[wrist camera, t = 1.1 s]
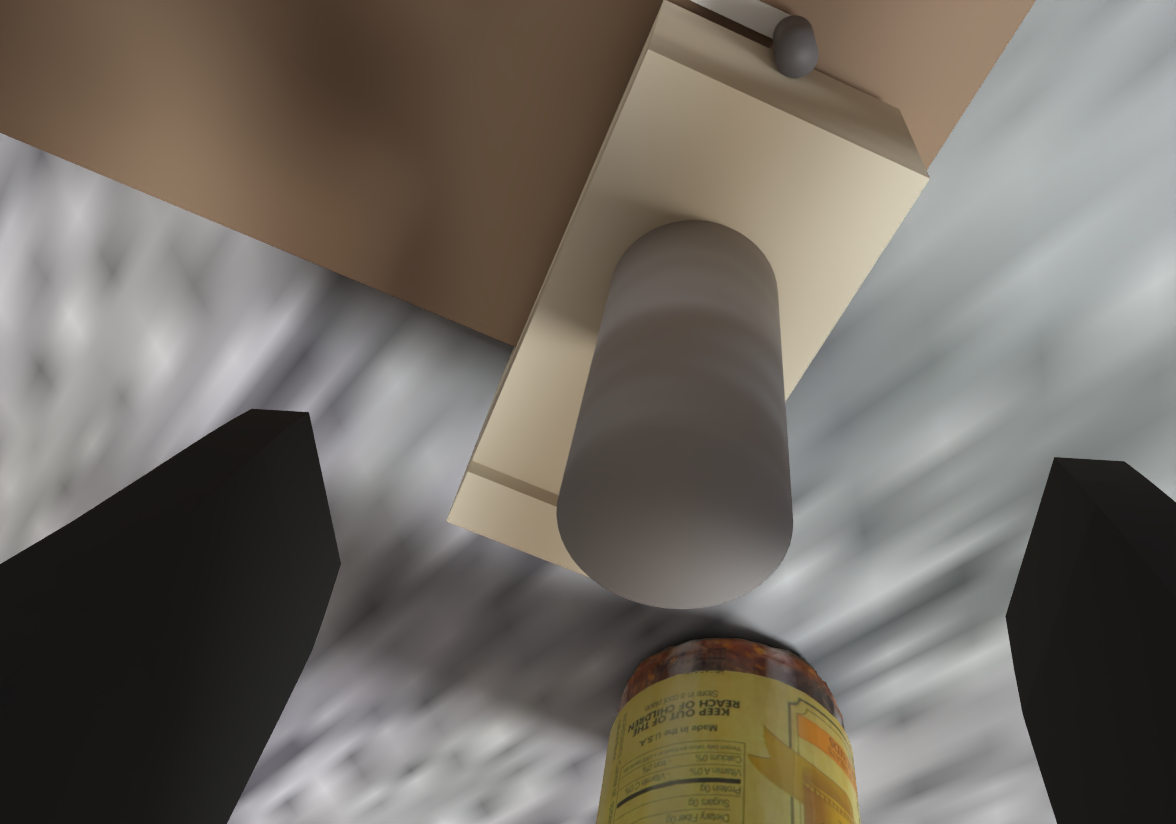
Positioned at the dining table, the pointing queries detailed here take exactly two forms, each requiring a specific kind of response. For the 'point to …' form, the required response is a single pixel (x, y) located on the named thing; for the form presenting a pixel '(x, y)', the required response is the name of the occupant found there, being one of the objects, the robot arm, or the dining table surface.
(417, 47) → the board
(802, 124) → the cream block
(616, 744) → the yellow labelled brown bottle
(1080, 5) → the dining table surface
